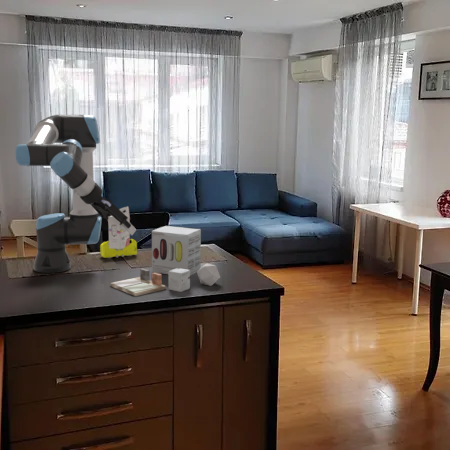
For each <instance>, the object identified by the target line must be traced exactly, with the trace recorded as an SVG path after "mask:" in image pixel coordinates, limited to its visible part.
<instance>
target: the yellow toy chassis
mask: <svg viewBox="0 0 450 450" xmlns="http://www.w3.org/2000/svg"><path fill="white" fill-rule="evenodd" d="M99 248H100V249H99V250H100V256H101V257H102V258H104V259H113V257H115V258H119V257H121V258H123V257H125V256H126V257H132V256H134V255H138V243H137V241H136V240H135V239H133V238H130V245H128V246H126V247H124V248H122V249H113V248H109V240H107V241H103V242H102V243H101V244H100V246H99Z"/></svg>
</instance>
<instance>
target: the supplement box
mask: <svg viewBox="0 0 450 450" xmlns="http://www.w3.org/2000/svg"><path fill="white" fill-rule="evenodd" d="M201 233H202V230H201V228H193V227H192V228H190V227H183V226H181V227H180V226H171V225H165V226H160V227H158V228H156V229H154V230H151V273H155V272H156V273H159V274H161V275H162V274H164V275H169V271H171V270H173V269H177V268H181V269H187V270H190V277H191V276H192V275H194V274H197V271H198V270H199V269H200V268H201V267H202V265H201V262H202V260H201V259H202V257H201V256H202V255H201V254H202V253H201V252H202V251H201V247H202V244H201V243H202V241H201V240H202V239H201V238H202V234H201Z"/></svg>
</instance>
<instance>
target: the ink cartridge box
mask: <svg viewBox="0 0 450 450" xmlns="http://www.w3.org/2000/svg"><path fill="white" fill-rule="evenodd" d="M118 209H119V210H120V211H121V212H122V213H124V214H125V215H126V216H127V217H128V219H127V220H128V221H129V222H130V220H131V217H130V208H129V206H124V207H121V208H118ZM124 211H125V212H124ZM107 220H108V221H107V222H108V223H107V224H108V241H109V248H113V249H122V248H124V247H126V246H128V245H130V239H131V238H130V236H131V234H130V233H129V232H128V231H127V230H126V229H125V228H124V227H123V226H122V225H119V224H120V222H119V221H118V220H116V219H115V218H114V217H113V216H111V215H110V216H109V217H108V219H107ZM130 223H131V222H130Z"/></svg>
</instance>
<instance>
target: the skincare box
mask: <svg viewBox="0 0 450 450" xmlns="http://www.w3.org/2000/svg"><path fill="white" fill-rule="evenodd" d="M189 289H191V276H190V270H187V269H181V268H177V269H173V270H171V271H169V274H168V290H169V291H174V292H180V293H181V292H185V291H187V290H189Z"/></svg>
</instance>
